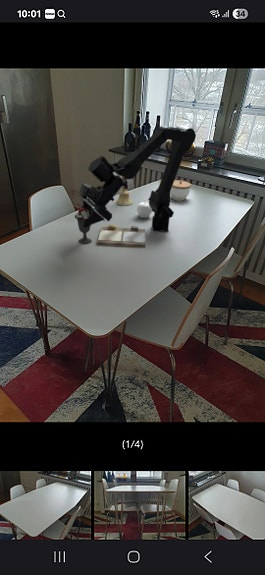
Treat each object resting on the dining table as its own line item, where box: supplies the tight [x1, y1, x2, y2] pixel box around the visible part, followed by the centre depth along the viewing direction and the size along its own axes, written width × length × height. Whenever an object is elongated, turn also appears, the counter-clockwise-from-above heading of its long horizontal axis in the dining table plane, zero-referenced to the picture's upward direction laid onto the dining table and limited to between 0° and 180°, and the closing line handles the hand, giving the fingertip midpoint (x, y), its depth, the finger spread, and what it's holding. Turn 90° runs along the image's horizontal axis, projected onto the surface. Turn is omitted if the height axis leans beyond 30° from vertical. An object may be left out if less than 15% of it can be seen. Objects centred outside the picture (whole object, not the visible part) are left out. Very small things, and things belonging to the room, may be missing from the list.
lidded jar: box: [170, 179, 192, 201], centre depth 163 cm, size 11×11×9 cm
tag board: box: [96, 224, 146, 248], centre depth 124 cm, size 18×14×2 cm
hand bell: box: [115, 176, 133, 207], centre depth 152 cm, size 8×8×16 cm
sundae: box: [74, 203, 92, 245], centre depth 116 cm, size 7×7×15 cm
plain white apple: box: [136, 199, 153, 219], centre depth 141 cm, size 7×7×8 cm
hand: (80, 223), depth 115 cm, fingers open, 7 cm apart
